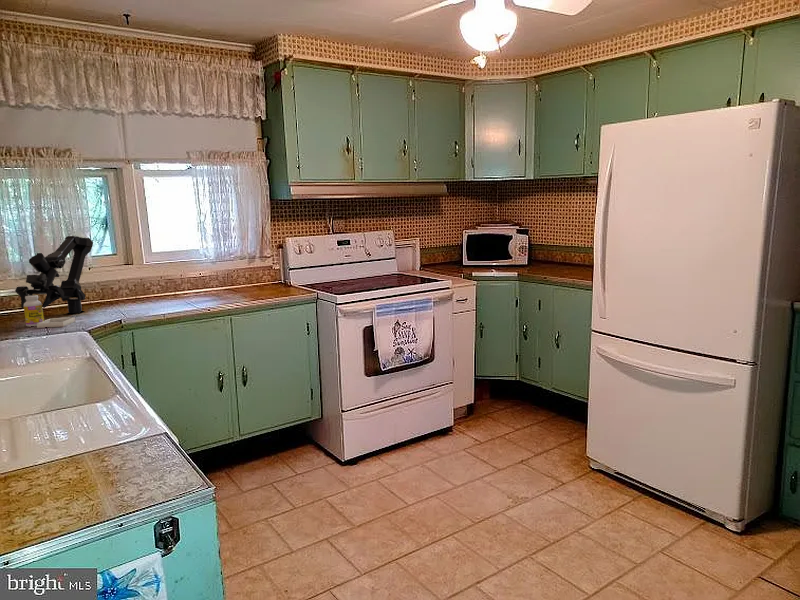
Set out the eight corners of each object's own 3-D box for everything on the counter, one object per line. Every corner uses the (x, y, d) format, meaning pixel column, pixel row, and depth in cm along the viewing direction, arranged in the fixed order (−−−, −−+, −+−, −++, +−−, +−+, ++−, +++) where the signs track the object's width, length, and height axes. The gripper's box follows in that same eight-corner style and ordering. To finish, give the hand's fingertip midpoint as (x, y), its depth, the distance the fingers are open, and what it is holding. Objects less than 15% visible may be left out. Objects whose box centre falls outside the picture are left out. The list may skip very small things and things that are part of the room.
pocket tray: (51, 322, 251) (50, 318, 250) (76, 321, 252) (76, 317, 251) (37, 328, 239) (36, 323, 239) (63, 326, 240) (63, 322, 240)
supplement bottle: (27, 327, 241) (23, 297, 239) (24, 325, 246) (20, 296, 244) (46, 325, 245) (42, 295, 243) (42, 323, 250) (38, 294, 248)
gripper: (14, 268, 247) (-1, 297, 238) (57, 266, 247) (43, 295, 237) (29, 283, 256) (15, 312, 247) (70, 282, 256) (57, 311, 246)
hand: (32, 307), depth 244 cm, fingers open, 9 cm apart
